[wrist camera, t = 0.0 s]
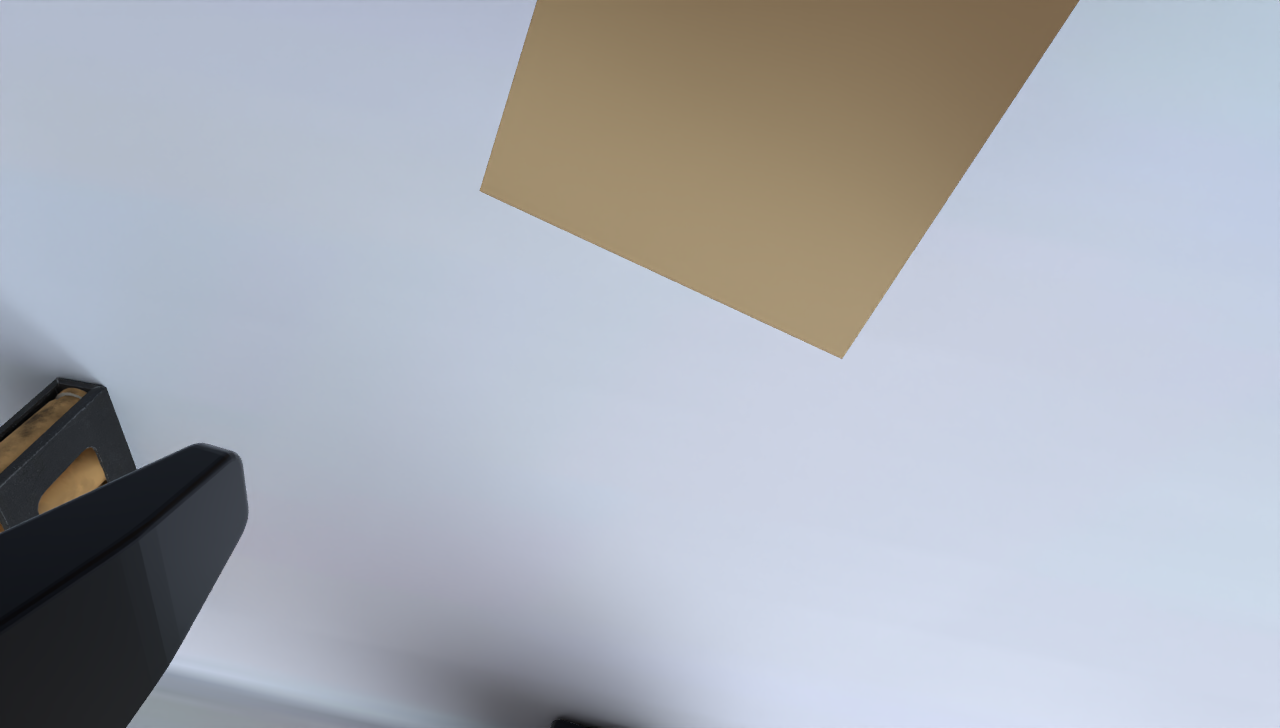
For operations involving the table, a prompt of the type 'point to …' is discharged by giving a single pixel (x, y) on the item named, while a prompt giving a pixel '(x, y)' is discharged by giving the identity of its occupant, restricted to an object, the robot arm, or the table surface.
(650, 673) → the table surface
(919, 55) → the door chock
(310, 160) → the table surface
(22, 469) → the ammunition clip
